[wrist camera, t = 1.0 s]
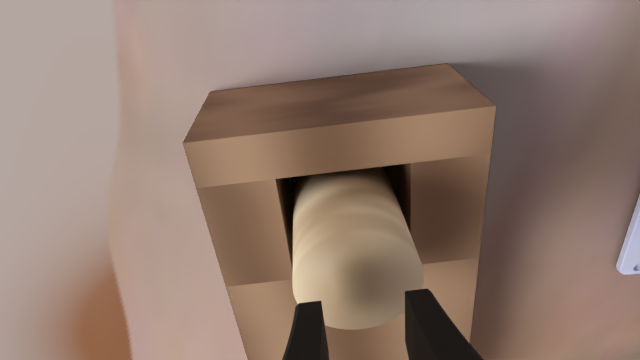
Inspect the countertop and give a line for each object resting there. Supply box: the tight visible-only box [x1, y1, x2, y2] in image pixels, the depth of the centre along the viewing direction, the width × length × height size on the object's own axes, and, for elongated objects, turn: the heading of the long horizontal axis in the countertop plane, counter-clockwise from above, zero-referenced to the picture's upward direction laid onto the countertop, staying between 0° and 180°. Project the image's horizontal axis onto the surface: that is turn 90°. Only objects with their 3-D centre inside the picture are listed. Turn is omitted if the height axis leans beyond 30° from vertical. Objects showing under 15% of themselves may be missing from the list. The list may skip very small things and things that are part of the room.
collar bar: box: [183, 63, 496, 360], centre depth 21 cm, size 10×20×5 cm, turn 6°
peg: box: [292, 167, 424, 330], centre depth 15 cm, size 4×4×5 cm
